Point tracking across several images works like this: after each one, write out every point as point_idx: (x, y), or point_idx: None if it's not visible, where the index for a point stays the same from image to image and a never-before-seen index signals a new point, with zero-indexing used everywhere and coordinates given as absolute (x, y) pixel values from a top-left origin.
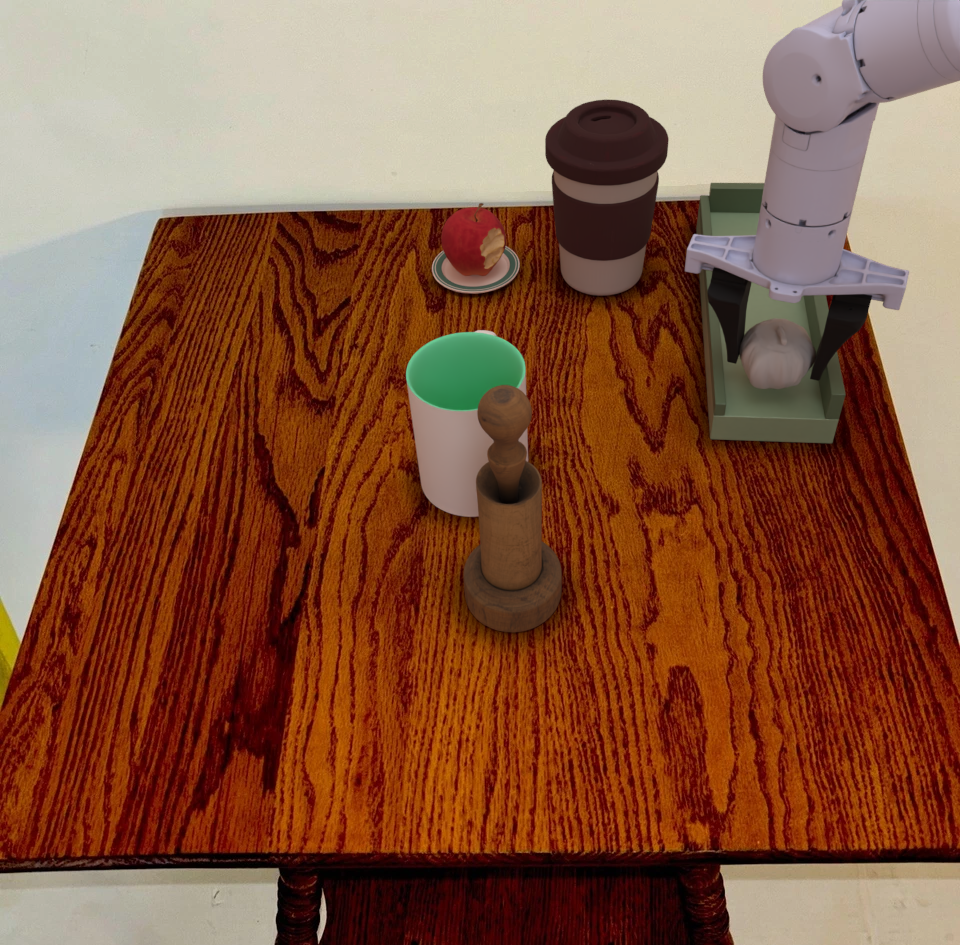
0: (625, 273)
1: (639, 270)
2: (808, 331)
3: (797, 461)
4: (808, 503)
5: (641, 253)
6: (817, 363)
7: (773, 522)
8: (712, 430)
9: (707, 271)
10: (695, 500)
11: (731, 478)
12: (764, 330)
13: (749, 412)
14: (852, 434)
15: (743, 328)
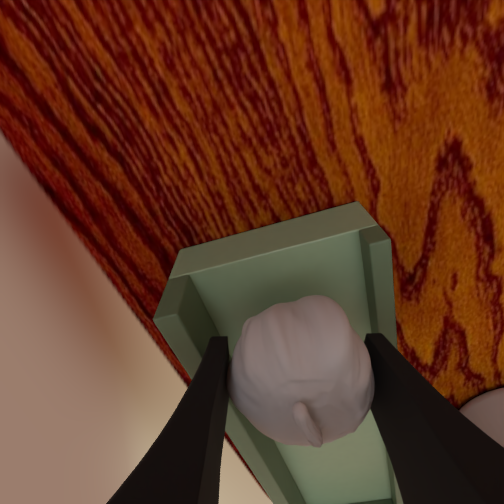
0: (497, 425)
1: None
2: None
3: (216, 199)
4: (172, 107)
5: None
6: (214, 371)
7: (216, 24)
8: (363, 208)
9: None
10: (376, 30)
11: (313, 122)
12: (344, 421)
13: (314, 251)
14: (160, 273)
15: (378, 409)
